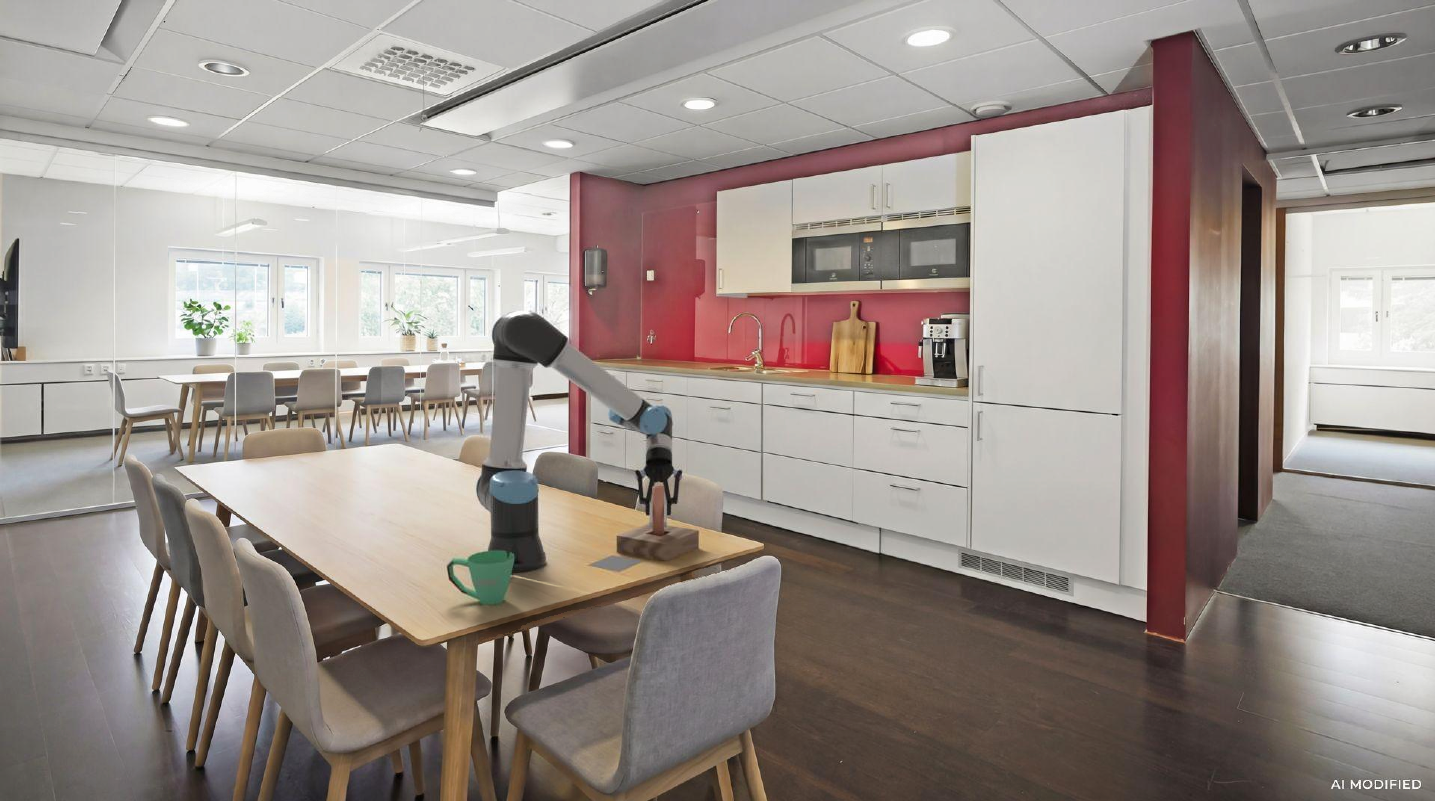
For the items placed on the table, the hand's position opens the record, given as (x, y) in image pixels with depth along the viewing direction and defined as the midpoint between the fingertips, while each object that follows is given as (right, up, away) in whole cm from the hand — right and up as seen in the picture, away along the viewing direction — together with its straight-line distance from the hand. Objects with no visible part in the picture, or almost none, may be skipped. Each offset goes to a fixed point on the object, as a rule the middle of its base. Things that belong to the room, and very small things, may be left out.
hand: (658, 524), depth 198 cm
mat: (-10, -9, -8) cm, 16 cm away
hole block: (0, -8, +4) cm, 9 cm away
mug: (-36, -11, -35) cm, 51 cm away
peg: (0, -4, +4) cm, 6 cm away
